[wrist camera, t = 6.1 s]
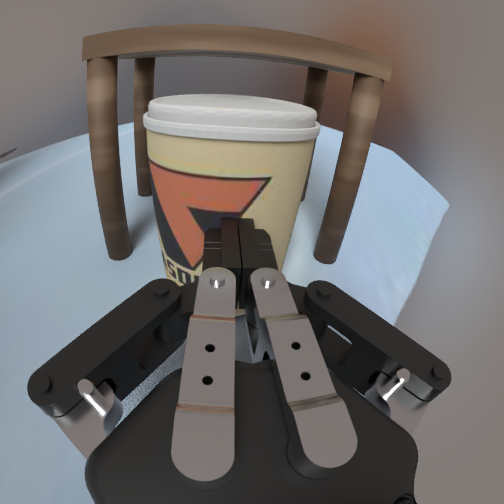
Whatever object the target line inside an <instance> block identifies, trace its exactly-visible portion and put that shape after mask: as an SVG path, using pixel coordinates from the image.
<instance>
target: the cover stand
mask: <svg viewBox="0 0 504 504" xmlns="http://www.w3.org/2000/svg"><path fill="white" fill-rule="evenodd" d="M176 56H177V57H178V56H179V57H180V56H209V57H210V56H213V57H232V58H246V59H257V60H266V61H274V62H282V63H288V64H294V65H300V66H306V67H308V73H307V80H306V87H305V94H304V100H303V105H304V106H307V107H310V108H312V109H314V110H315V111H316V113H317V119H316V121H317V122H318V123H319V122H320V116H321V110H322V105H323V98H324V93H325V87H326V81H327V74H328V71H334V72H342V73H348V74H354V75H355V76H354V82H353V87H352V93H351V98H350V104H349V109H348V114H347V119H346V124H345V128H344V133H343V138H342V143H341V147H340V152H339V156H338V161H337V165H336V169H335V173H334V178H333V182H332V186H331V190H330V194H329V198H328V202H327V206H326V210H325V214H324V217H323V221H322V225H321V229H320V232H319V236H318V240H317V243H316V247H315V250H314V257H315V259H316V260H318V261H319V262H321V263H324V264H332V263H334V262H335V261H336V258H337V255H338V252H339V249H340V247H341V244H342V241H343V237H344V234H345V231H346V228H347V225H348V222H349V219H350V215H351V212H352V209H353V206H354V202H355V199H356V195H357V192H358V189H359V185H360V181H361V178H362V174H363V170H364V167H365V163H366V159H367V155H368V151H369V147H370V143H371V139H372V135H373V131H374V126H375V122H376V117H377V113H378V108H379V104H380V99H381V93H382V88H383V83H384V81H390V76H391V71H392V65H393V60H391V59H388V58H386V57H383V56H380V55H377V54H375V53H372V52H369V51H366V50H362V49H359V48H356V47H353V46H349V45H346V44H342V43H338V42H334V41H330V40H326V39H322V38H318V37H313V36H308V35H303V34H298V33H292V32H286V31H280V30H273V29H266V28H257V27H247V26H234V25H213V24H183V25H162V26H150V27H140V28H131V29H124V30H117V31H111V32H106V33H100V34H95V35H91V36H86V37H83V49H82V61H83V60H87V108H88V125H89V139H90V150H91V159H92V167H93V175H94V182H95V189H96V195H97V201H98V207H99V212H100V218H101V223H102V228H103V233H104V237H105V242H106V246H107V250H108V255H109V257H110V258H111V259H113V260H123V259H125V258H127V257H129V256H130V254H131V252H132V250H131V244H130V238H129V232H128V226H127V219H126V212H125V204H124V196H123V188H122V179H121V168H120V156H119V142H118V122H117V65H118V59H135V69H134V139H135V160H136V174H137V187H138V195H140V196H151V195H152V188H151V180H150V171H149V161H148V149H147V128H145V127H144V124H143V115H144V114H145V113H146V112H148V105H149V102H150V101H151V100H153V91H154V68H155V67H154V66H155V58H157V57H176ZM316 138H317V137H316ZM316 138H315V142H314V147H313V151H312V156H311V161H310V165H309V169H308V173H307V177H306V181H305V185H304V189H303V193H302V197H301V200H300V201H303V200H304V198H305V193H306V189H307V184H308V179H309V174H310V169H311V164H312V159H313V154H314V149H315V143H316Z"/></svg>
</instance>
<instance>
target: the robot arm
mask: <svg viewBox="0 0 504 504" xmlns="http://www.w3.org/2000/svg"><path fill="white" fill-rule="evenodd" d="M238 304H239V309H245V314H246V316H245V329H246V334H247V339H248V344H249V349H250V354H251V359H252V363H245V362H240V361H235V309H237V308H238ZM329 325H330V326H331V327H333V328H334V329H336V330H337V331H338V332H340V333H341V334H342V335H344V336H345V337H346V338H348V339H349V340H350V341H351V343H352V344H350V343H349V342H347V341H346V340H345V339H343V338H342V337H341V336H339V335H338V334H337V333H335V332H334V331H333V330H331V329H330V328H329V327H328V326H329ZM185 339H187V340H186V347H185V354H184V361H183V368H180V369H178V370H176V371H174V372H172V373H170V374H169V375H167V376H166V377H165V378H164V379H162V380H161V381H160V382H159V383H158V385H157V386H156V387H155V388H154V389H153V390H152V391H151V392H150V393H149V394H148V395H147V396H146V397H145V398H144V399H143V400H142V401H141V402H140V403H139V404H138V405H137V406H136V407H135V408H134V409H133V411H132V412H131V413H130V414H129V415H128V416H127V417H126V418H125V419H124V420H123V421H122V422H121V423H120V424H119V425H118V426H117V427H116V428H115V426H116V425H117V423H118V422H119V421H120V419H121V417H122V414H123V406H122V403H121V401H122V400H123V399H125V398H126V397H127V396H128V395H129V394H130V393H131V392H132V391H133V390H134V389H135V388H136V387H137V386H139V385H140V384H141V383H142V382H143V381H144V380H145V379H146V378H147V377H148V376H149V375H150V374H151V373H152V372H153V371H155V370H156V369H157V368H158V367H159V366H160V365H161V364H162V363H163V362H164V361H165V360H166V359H167V358H168V357H169V356H170V355H171V354H172V353H174V352H175V351H176V350H177V349H178V348H179V347H180V346H181V345H182V344H183V342H184V341H185ZM327 368H328V369H327ZM329 369H330V370H329ZM342 379H343V380H342ZM450 382H451V373H450V370H449V368H448V367H447V365H446V364H445V363H444V362H443V361H441V360H440V359H439V358H437V357H436V356H435V355H433V354H432V353H430V352H429V351H428V350H426V349H425V348H423V347H422V346H421V345H419V344H418V343H416V342H415V341H414V340H412V339H411V338H409V337H408V336H407V335H405V334H404V333H402V332H401V331H399V330H398V329H397V328H395V327H394V326H392V325H391V324H390V323H388V322H387V321H385V320H384V319H382V318H381V317H380V316H378V315H377V314H375V313H374V312H372V311H371V310H370V309H368V308H367V307H365V306H364V305H362V304H361V303H359V302H358V301H357V300H355V299H354V298H352V297H351V296H349V295H348V294H346V293H345V292H344V291H342V290H341V289H339V288H338V287H336V286H335V285H333V284H332V283H330V282H327V281H322V280H317V281H313V282H311V283H310V284H309V285H308V286H307V288H306V287H302V286H298V285H294V284H291V283H289V282H287V281H286V278H285V276H284V275H283V274H282V273H281V272H279V270H278V266H277V262H276V258H275V254H274V250H273V246H272V242H271V238H270V235H269V234H268V233H267V232H266V231H265V230H264V229H255V225H254V220H253V218H238V220H237V218H225V217H221V227H220V228H209V229H208V230H207V231H206V233H205V234H204V247H203V264H202V273H201V274H200V277H199V278H198V279H197V280H196V281H194V282H192V283H190V284H187V285H182V286H178V284H177V283H176V282H174V281H173V280H170V279H165V278H161V279H156V280H153V281H151V282H149V283H148V284H146V285H145V286H144V287H142V288H141V289H140V290H138V291H137V292H136V293H134V294H133V295H132V296H130V297H129V298H128V299H126V300H125V301H124V302H122V303H121V304H120V305H118V306H117V307H116V308H114V309H113V310H112V311H110V312H109V313H108V314H107V315H105V316H104V317H103V318H101V319H100V320H99V321H97V322H96V323H95V324H94V325H92V326H91V327H90V328H88V329H87V330H86V331H85V332H83V333H82V334H81V335H80V336H78V337H77V338H76V339H75V340H73V341H72V342H71V343H69V344H68V345H67V346H66V347H64V348H63V349H62V350H61V351H59V352H58V353H57V354H56V355H55V356H53V357H52V358H51V359H50V360H48V361H47V362H46V363H45V364H44V365H42V366H41V367H40V368H39V369H37V370H36V371H35V372H34V373H33V374H32V375H31V377H30V379H29V381H28V386H27V390H28V395H29V397H30V399H31V400H32V401H33V402H34V403H35V404H36V405H37V406H38V407H40V408H41V409H42V410H43V412H44V413H45V414H46V415H48V416H49V417H50V418H51V419H53V420H54V421H55V422H56V423H57V424H58V425H59V427H60V428H61V429H62V430H63V432H64V433H65V434H66V435H67V437H68V438H69V439H70V440H71V442H72V443H73V444H74V445H75V446H76V448H77V449H78V450H79V451H80V452H81V453H82V454H83V456H84V457H85V458H86V459H87V462H86V466H85V481H86V485H87V488H88V490H89V493H90V495H91V497H92V498H93V500H94V502H95V504H417V503H416V501H415V498H414V478H415V472H416V468H417V463H418V450H417V446H416V443H415V441H414V439H413V438H412V436H411V435H412V434H413V432H414V430H415V429H416V427H417V425H418V423H419V421H420V420H421V418H422V416H423V414H424V412H425V410H426V408H427V406H428V404H429V402H431V401H432V400H433V399H434V398H435V397H437V396H438V395H439V394H440V393H441V392H442V391H444V390H445V389H446V388H447V387H448V386H449V384H450ZM347 383H348V384H347ZM351 386H352V387H353V388H354V389H353V388H352V387H351ZM355 389H356V390H357V391H358V392H360V393H361V394H362V395H364V396H365V397H363V396H362V395H361V394H360V393H358V392H357V391H356V390H355Z"/></svg>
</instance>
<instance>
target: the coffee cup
mask: <svg viewBox="0 0 504 504" xmlns="http://www.w3.org/2000/svg"><path fill="white" fill-rule="evenodd" d="M316 119H317V113H316V111H315V110H314V109H312V108H310V107H307V106H304V105H300V104H296V103H292V102H287V101H282V100H276V99H269V98H262V97H254V96H243V95H228V94H193V95H192V94H189V95H176V96H167V97H161V98H157V99H153V100H151V101H150V102H149V105H148V112H146V113H145V114H144V115H143V124H144V127H145V128H147V149H148V161H149V171H150V180H151V188H152V195H153V202H154V209H155V216H156V222H157V228H158V234H159V240H160V246H161V251H162V256H163V262H164V266H165V271H166V275H167V279H170V280H173V281H174V282H176V283H177V284H178V286H182V285H187V284H190V283H192V282H194V281H196V280H197V279H198V278H199V277H200V274H201V273H202V264H203V247H204V234H205V233H206V231H207V230H208V229H209V228H220V227H221V217H225V218H237V220H238V218H253V220H254V225H255V229H264V230H265V231H266V232H267V233H268V234H269V235H270V238H271V242H272V246H273V250H274V254H275V258H276V262H277V266H278V270H279V272H281V269H282V266H283V262H284V259H285V255H286V252H287V248H288V245H289V241H290V238H291V234H292V230H293V227H294V223H295V219H296V216H297V212H298V208H299V204H300V200H301V197H302V193H303V189H304V185H305V181H306V177H307V173H308V169H309V165H310V161H311V156H312V151H313V147H314V142H315V138H316V137H317V136H318V135H319V132H320V124H319V123H318V122H317V121H316ZM241 315H245V309H239V304H238V308H237V309H235V317H236V316H241Z"/></svg>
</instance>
